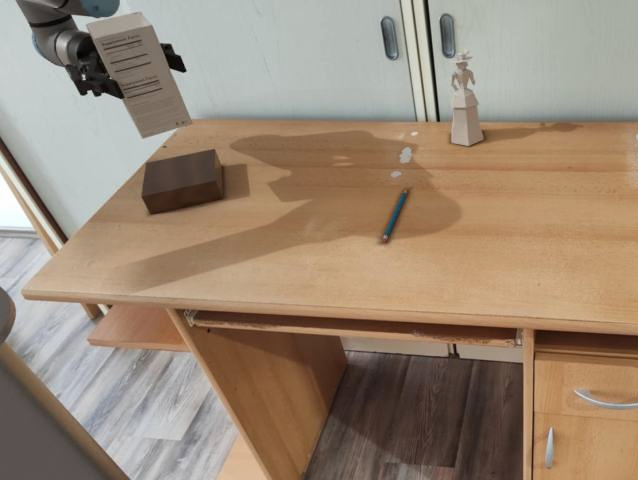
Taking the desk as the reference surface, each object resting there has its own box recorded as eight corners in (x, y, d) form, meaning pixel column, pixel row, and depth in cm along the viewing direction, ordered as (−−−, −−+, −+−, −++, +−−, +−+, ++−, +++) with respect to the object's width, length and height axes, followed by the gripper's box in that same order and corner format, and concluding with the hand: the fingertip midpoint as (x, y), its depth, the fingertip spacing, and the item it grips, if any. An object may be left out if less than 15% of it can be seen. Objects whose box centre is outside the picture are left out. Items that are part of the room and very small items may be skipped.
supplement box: (131, 121, 109) (83, 23, 97) (181, 106, 112) (140, 9, 100) (142, 140, 103) (92, 37, 91) (194, 124, 106) (152, 23, 94)
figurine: (479, 127, 129) (474, 40, 116) (486, 144, 124) (482, 54, 111) (448, 131, 129) (440, 45, 116) (453, 148, 123) (445, 59, 110)
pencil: (381, 243, 102) (381, 240, 101) (404, 190, 113) (404, 187, 113) (386, 243, 102) (385, 240, 101) (408, 190, 113) (408, 187, 113)
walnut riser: (150, 214, 114) (140, 196, 111) (154, 180, 123) (145, 162, 121) (223, 198, 116) (215, 180, 113) (221, 165, 126) (214, 148, 123)
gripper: (153, 54, 118) (217, 74, 108) (38, 99, 106) (97, 126, 96) (136, 13, 113) (201, 30, 103) (12, 56, 101) (72, 80, 90)
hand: (151, 76), depth 99 cm, fingers closed on supplement box, 11 cm apart
